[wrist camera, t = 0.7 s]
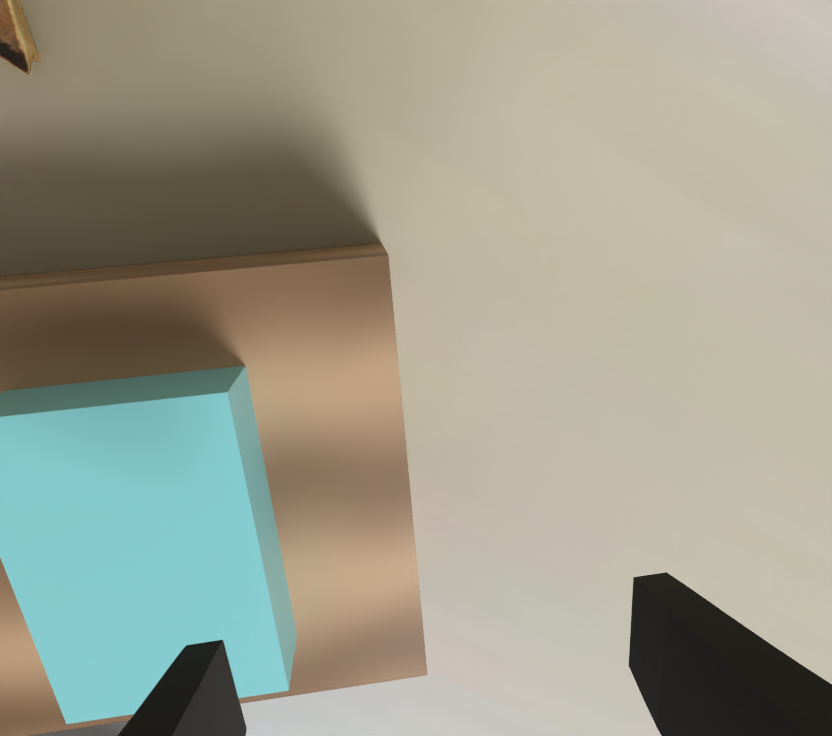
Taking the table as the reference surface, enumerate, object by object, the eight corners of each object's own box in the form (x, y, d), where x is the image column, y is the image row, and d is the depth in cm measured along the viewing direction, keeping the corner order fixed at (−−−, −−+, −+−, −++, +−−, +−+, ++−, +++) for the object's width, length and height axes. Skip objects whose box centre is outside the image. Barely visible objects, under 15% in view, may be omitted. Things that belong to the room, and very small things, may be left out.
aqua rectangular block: (296, 634, 16) (289, 690, 15) (100, 662, 16) (66, 724, 14) (245, 365, 14) (227, 392, 12) (5, 390, 13) (-54, 422, 11)
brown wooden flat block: (415, 590, 21) (427, 675, 18) (6, 647, 20) (-75, 751, 16) (381, 242, 17) (388, 255, 13) (-144, 289, 16) (-304, 318, 12)
